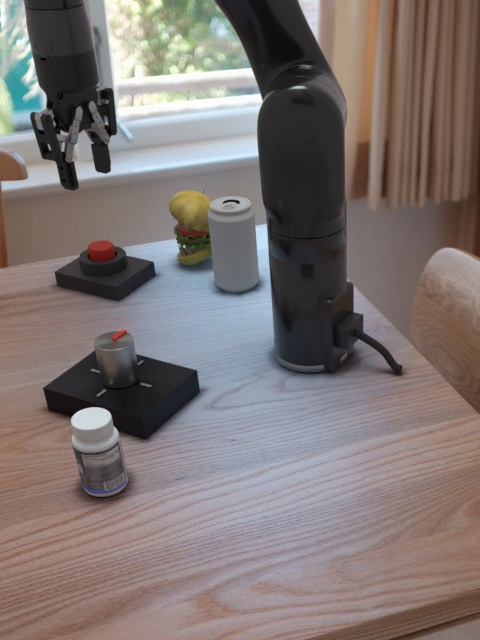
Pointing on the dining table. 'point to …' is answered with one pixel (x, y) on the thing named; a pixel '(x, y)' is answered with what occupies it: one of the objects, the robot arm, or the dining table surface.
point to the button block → (106, 274)
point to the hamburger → (191, 226)
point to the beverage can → (233, 243)
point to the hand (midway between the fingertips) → (87, 180)
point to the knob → (117, 359)
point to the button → (101, 250)
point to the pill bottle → (98, 452)
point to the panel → (125, 394)
